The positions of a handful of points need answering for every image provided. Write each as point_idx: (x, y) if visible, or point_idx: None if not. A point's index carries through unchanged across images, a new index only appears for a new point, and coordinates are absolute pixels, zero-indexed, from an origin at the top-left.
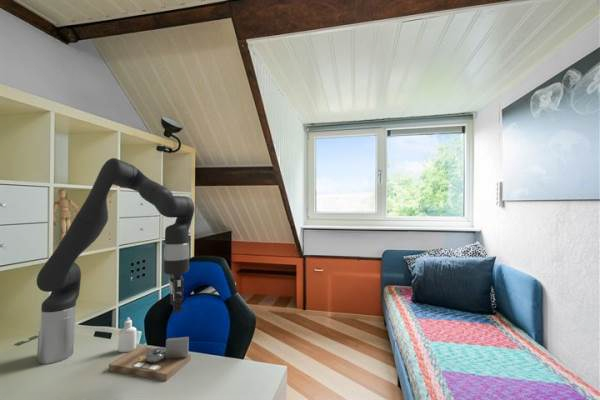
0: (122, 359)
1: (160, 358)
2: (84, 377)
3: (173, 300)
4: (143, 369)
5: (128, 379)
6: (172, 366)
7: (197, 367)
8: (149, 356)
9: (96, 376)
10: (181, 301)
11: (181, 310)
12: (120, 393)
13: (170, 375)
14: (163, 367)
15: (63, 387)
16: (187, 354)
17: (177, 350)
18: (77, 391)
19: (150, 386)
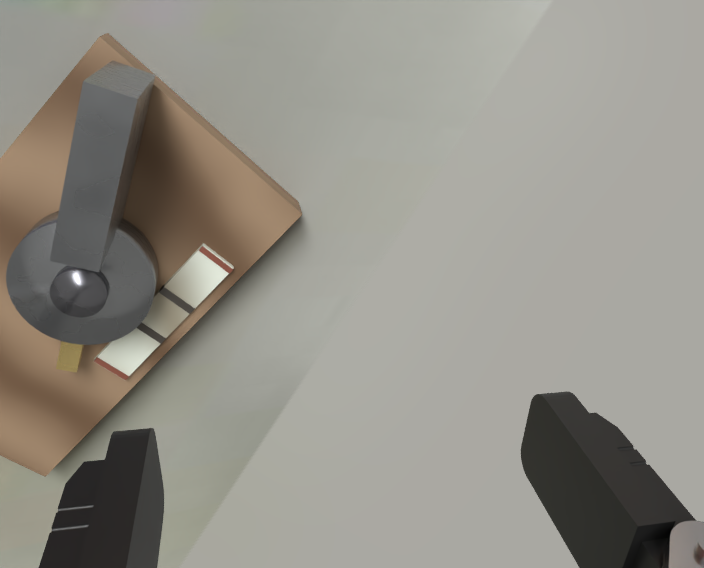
0: (11, 429)
1: (150, 257)
2: None
3: (152, 529)
4: (187, 325)
5: (189, 365)
6: (228, 179)
7: (238, 6)
8: (125, 324)
9: None
10: (656, 503)
11: (575, 399)
12: (295, 380)
13: (276, 184)
14: (214, 228)
15: None
16: (149, 75)
17: (132, 159)
18: (193, 515)
19: (307, 273)
